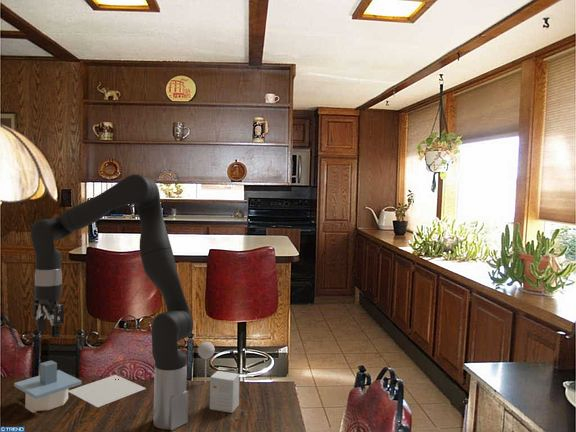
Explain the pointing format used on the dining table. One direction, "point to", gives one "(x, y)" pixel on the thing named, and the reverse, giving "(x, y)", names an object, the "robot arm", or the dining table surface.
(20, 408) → the dining table surface
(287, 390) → the dining table surface
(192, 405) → the dining table surface
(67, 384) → the lid
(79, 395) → the mat
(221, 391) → the small box
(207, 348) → the lollipop
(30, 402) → the bowl
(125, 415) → the dining table surface
